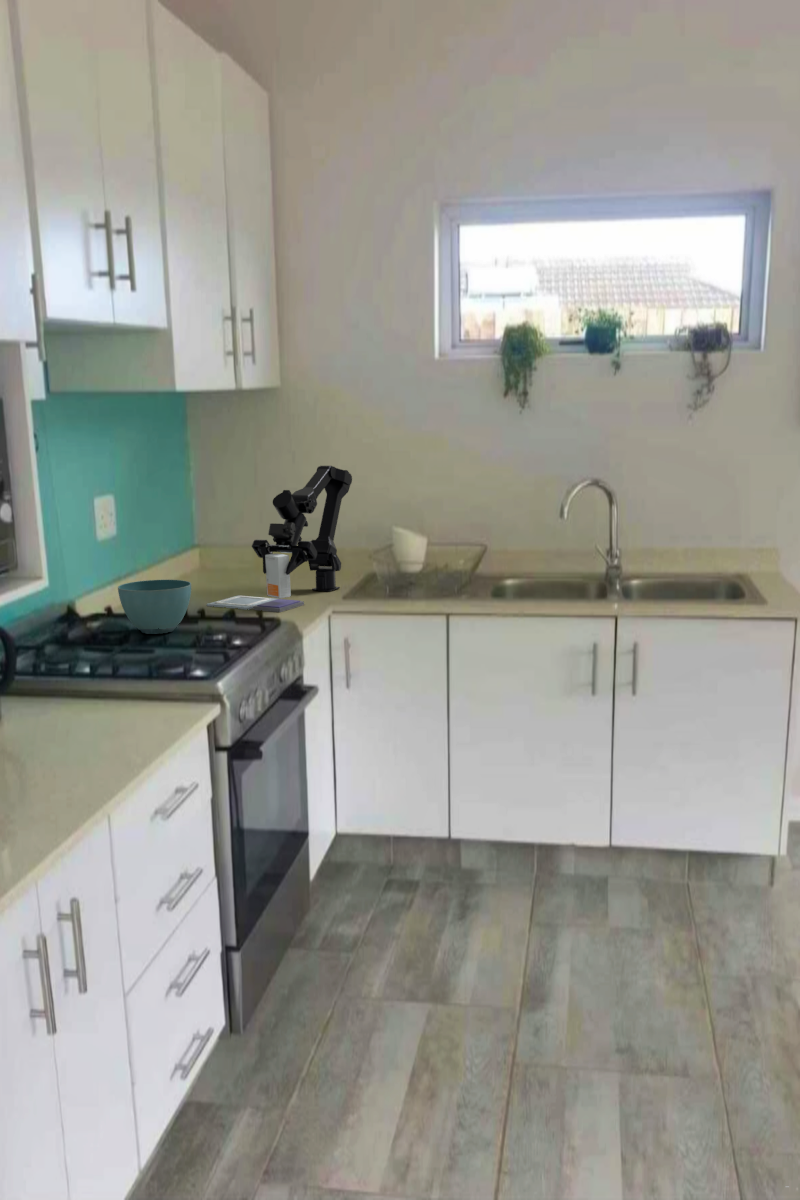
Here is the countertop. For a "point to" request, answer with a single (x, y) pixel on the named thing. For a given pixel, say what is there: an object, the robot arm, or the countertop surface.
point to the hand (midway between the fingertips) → (275, 573)
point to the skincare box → (277, 575)
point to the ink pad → (279, 605)
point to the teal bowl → (155, 602)
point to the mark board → (241, 602)
